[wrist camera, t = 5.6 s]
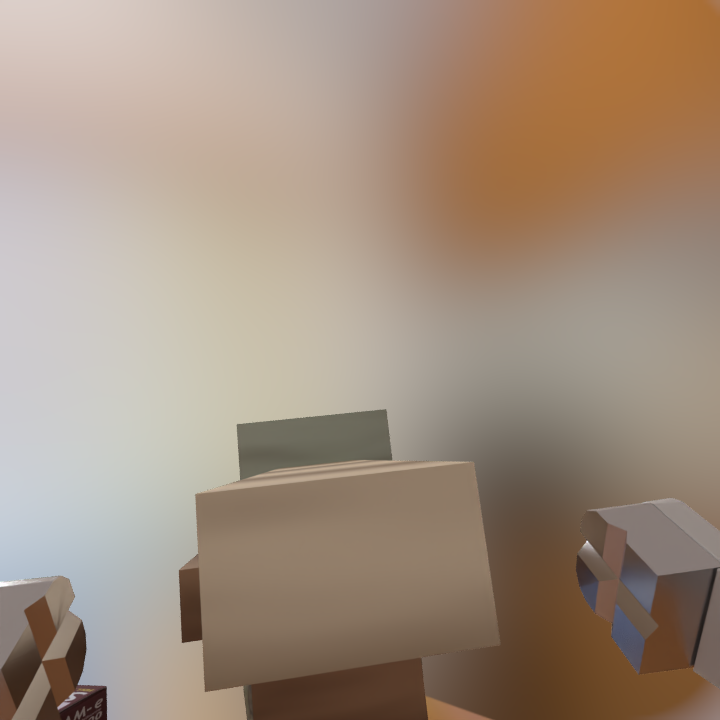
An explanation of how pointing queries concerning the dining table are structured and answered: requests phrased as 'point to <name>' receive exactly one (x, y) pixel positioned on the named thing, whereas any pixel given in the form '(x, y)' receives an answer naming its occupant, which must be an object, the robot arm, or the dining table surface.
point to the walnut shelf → (321, 680)
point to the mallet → (338, 554)
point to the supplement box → (85, 704)
